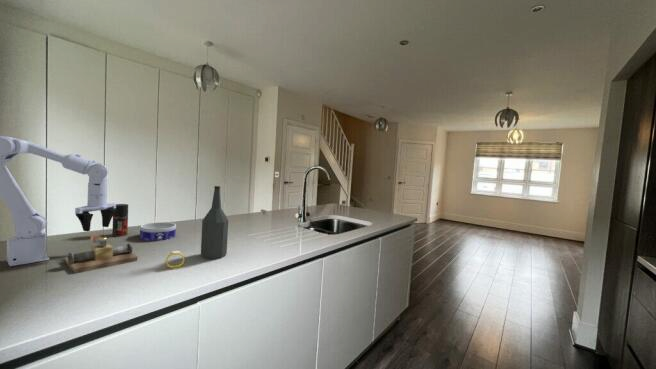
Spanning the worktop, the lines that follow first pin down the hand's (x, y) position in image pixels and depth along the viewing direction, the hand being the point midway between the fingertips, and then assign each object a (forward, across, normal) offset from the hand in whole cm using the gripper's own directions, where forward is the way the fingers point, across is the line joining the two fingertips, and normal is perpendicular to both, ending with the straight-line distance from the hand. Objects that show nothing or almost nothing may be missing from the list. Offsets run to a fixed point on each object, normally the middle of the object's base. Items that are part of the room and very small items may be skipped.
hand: (96, 228), depth 108 cm
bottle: (+10, +15, -42) cm, 45 cm away
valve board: (+10, -5, -9) cm, 14 cm away
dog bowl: (+10, +29, -3) cm, 31 cm away
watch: (+10, -1, -36) cm, 37 cm away
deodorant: (+10, +24, +14) cm, 30 cm away
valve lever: (+4, -3, -5) cm, 7 cm away
